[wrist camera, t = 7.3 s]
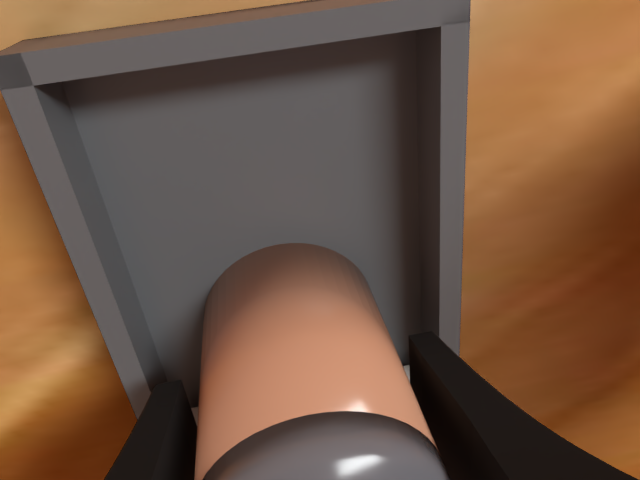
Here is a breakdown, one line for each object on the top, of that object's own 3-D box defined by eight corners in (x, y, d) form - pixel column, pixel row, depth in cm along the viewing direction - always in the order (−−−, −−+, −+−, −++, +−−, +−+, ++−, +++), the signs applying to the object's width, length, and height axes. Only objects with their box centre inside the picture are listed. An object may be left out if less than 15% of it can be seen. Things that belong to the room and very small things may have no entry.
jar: (367, 229, 14) (468, 432, 8) (376, 363, 17) (460, 593, 11) (185, 260, 14) (156, 496, 8) (222, 393, 17) (221, 649, 11)
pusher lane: (435, -18, 12) (552, 5, 8) (435, 535, 23) (483, 670, 19) (22, 40, 11) (-101, 99, 7) (226, 582, 22) (227, 734, 18)
